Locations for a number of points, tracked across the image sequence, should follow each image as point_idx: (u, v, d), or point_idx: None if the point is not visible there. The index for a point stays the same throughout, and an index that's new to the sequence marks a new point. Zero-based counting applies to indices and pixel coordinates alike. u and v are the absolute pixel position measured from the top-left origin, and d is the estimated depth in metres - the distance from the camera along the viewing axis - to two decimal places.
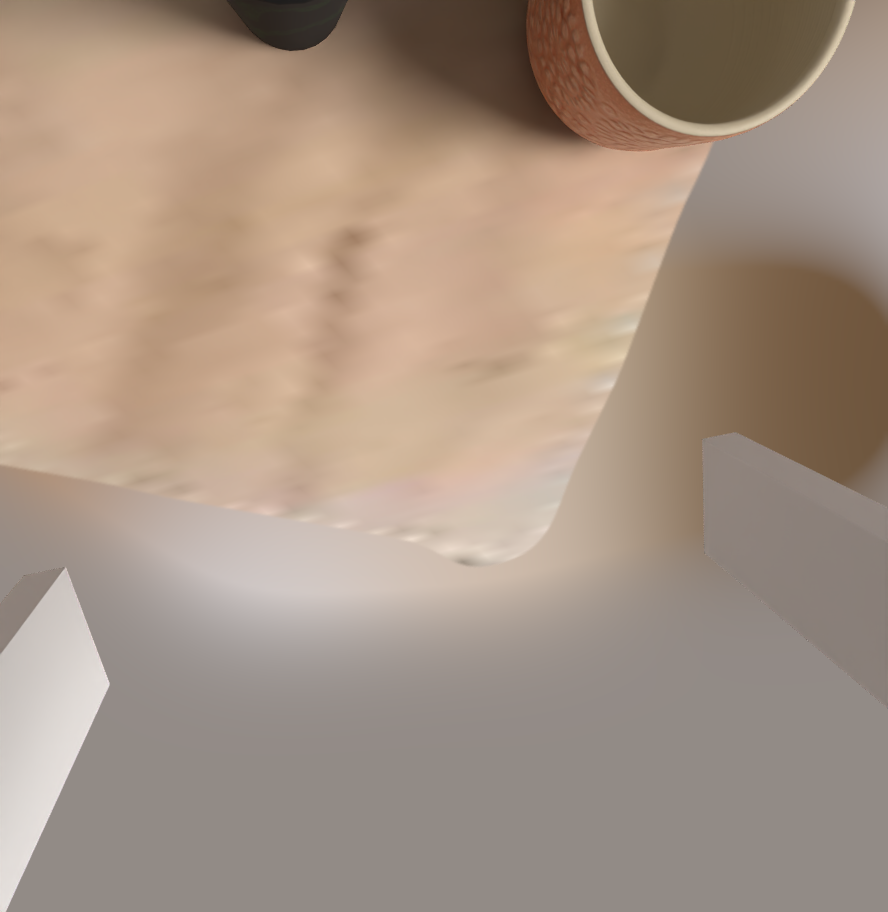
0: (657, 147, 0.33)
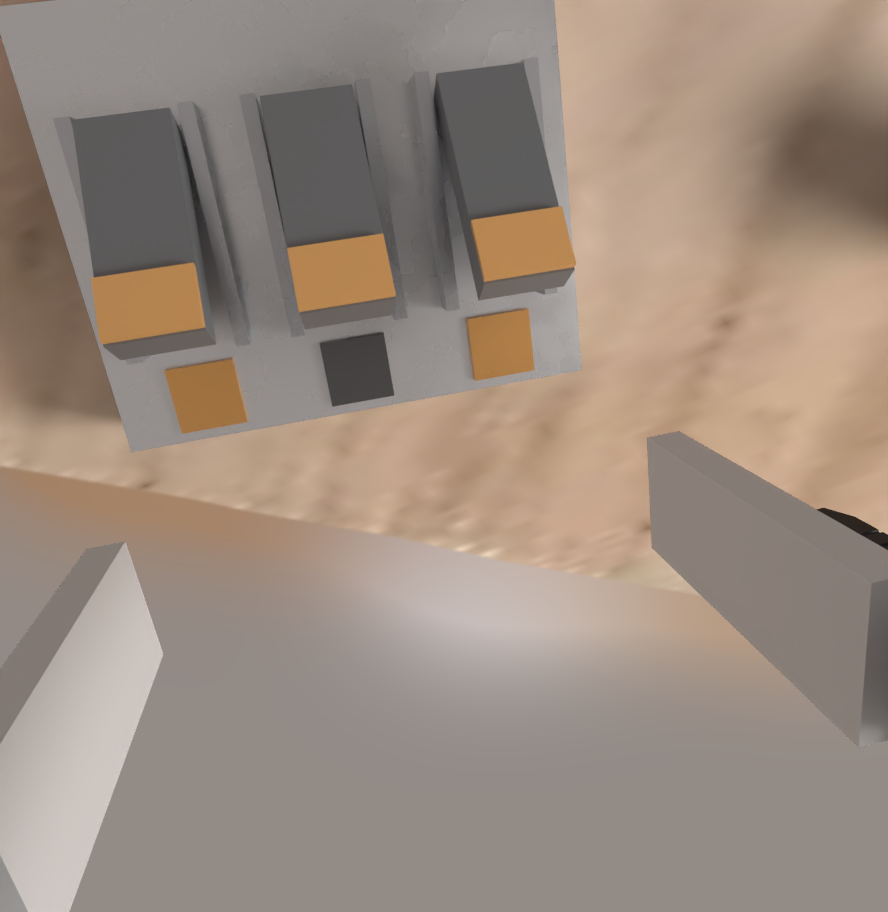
0: None
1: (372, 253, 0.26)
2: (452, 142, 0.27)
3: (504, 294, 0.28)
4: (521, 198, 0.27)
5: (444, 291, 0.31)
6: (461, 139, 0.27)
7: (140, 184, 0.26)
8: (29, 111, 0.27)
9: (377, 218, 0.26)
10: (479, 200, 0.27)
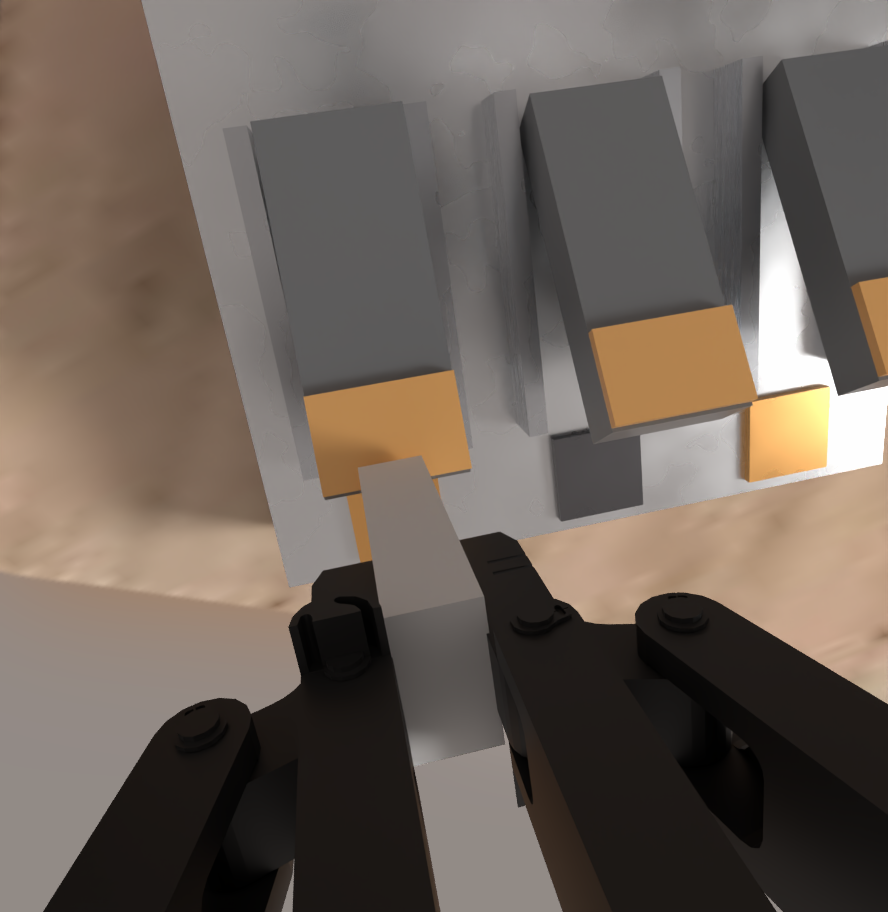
0: None
1: (719, 336, 0.17)
2: (813, 162, 0.18)
3: (877, 387, 0.19)
4: None
5: None
6: (826, 158, 0.18)
7: (364, 235, 0.16)
8: (178, 117, 0.18)
9: (716, 280, 0.17)
10: (860, 250, 0.18)
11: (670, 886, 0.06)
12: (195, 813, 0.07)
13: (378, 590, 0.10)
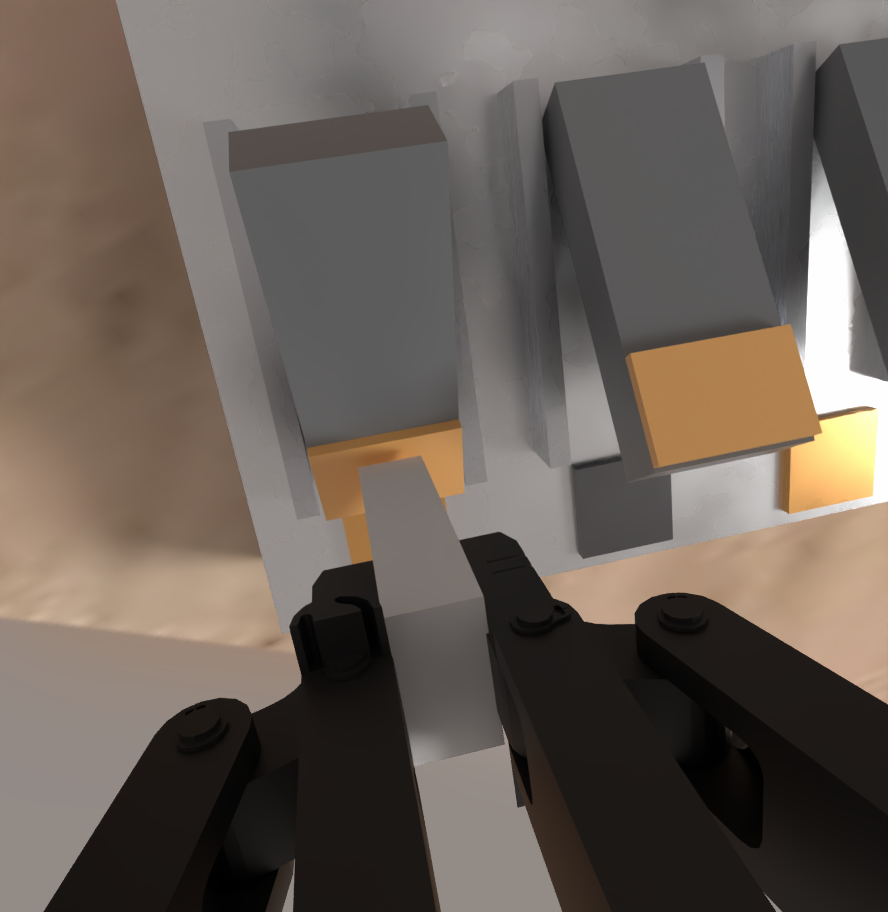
0: None
1: (776, 360, 0.14)
2: (877, 161, 0.16)
3: None
4: None
5: None
6: None
7: (379, 305, 0.13)
8: (152, 110, 0.16)
9: (770, 295, 0.15)
10: None
11: (669, 885, 0.06)
12: (196, 813, 0.07)
13: (378, 590, 0.10)
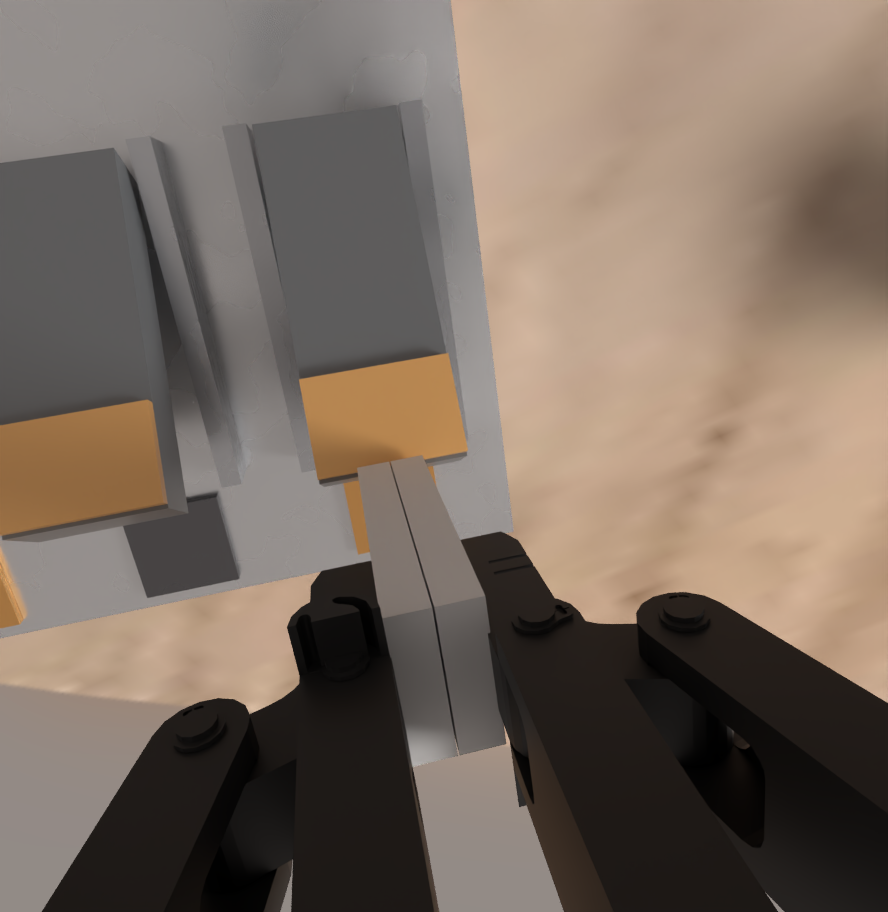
0: None
1: (127, 434, 0.15)
2: (275, 243, 0.17)
3: None
4: (385, 337, 0.17)
5: (296, 445, 0.21)
6: (290, 237, 0.17)
7: None
8: None
9: (143, 371, 0.16)
10: (316, 341, 0.17)
11: (672, 884, 0.06)
12: (193, 813, 0.07)
13: (377, 590, 0.10)
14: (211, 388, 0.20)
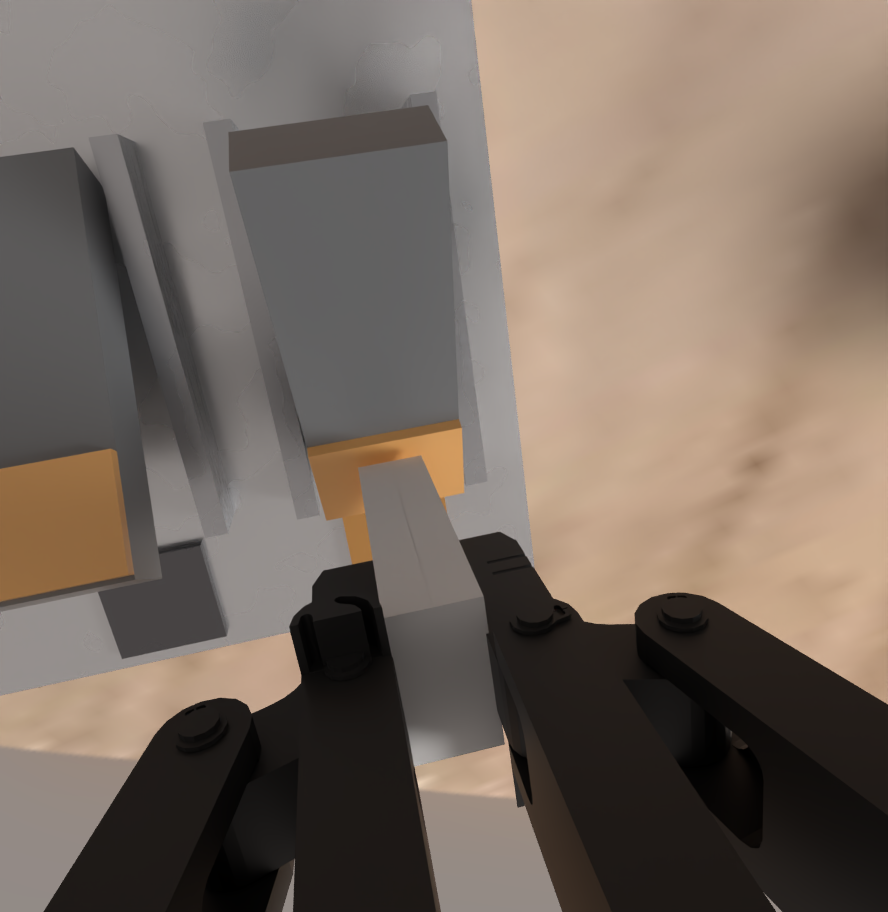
0: None
1: (85, 491, 0.13)
2: (273, 324, 0.13)
3: None
4: (398, 408, 0.16)
5: (290, 488, 0.18)
6: (292, 318, 0.13)
7: None
8: None
9: (106, 413, 0.13)
10: (324, 416, 0.15)
11: (671, 886, 0.06)
12: (196, 813, 0.07)
13: (379, 590, 0.10)
14: (192, 425, 0.17)
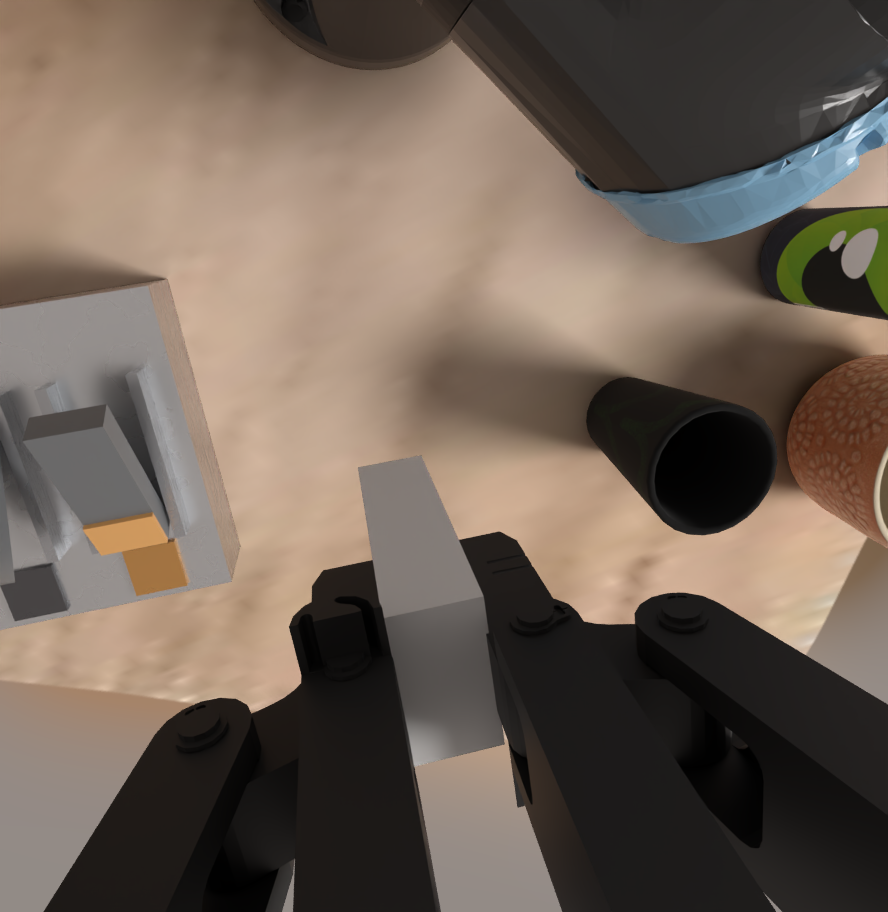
0: None
1: None
2: (53, 483, 0.34)
3: None
4: (120, 509, 0.36)
5: (87, 540, 0.39)
6: (60, 480, 0.34)
7: None
8: None
9: None
10: (86, 513, 0.36)
11: (670, 886, 0.06)
12: (196, 813, 0.07)
13: (378, 590, 0.10)
14: (38, 513, 0.38)
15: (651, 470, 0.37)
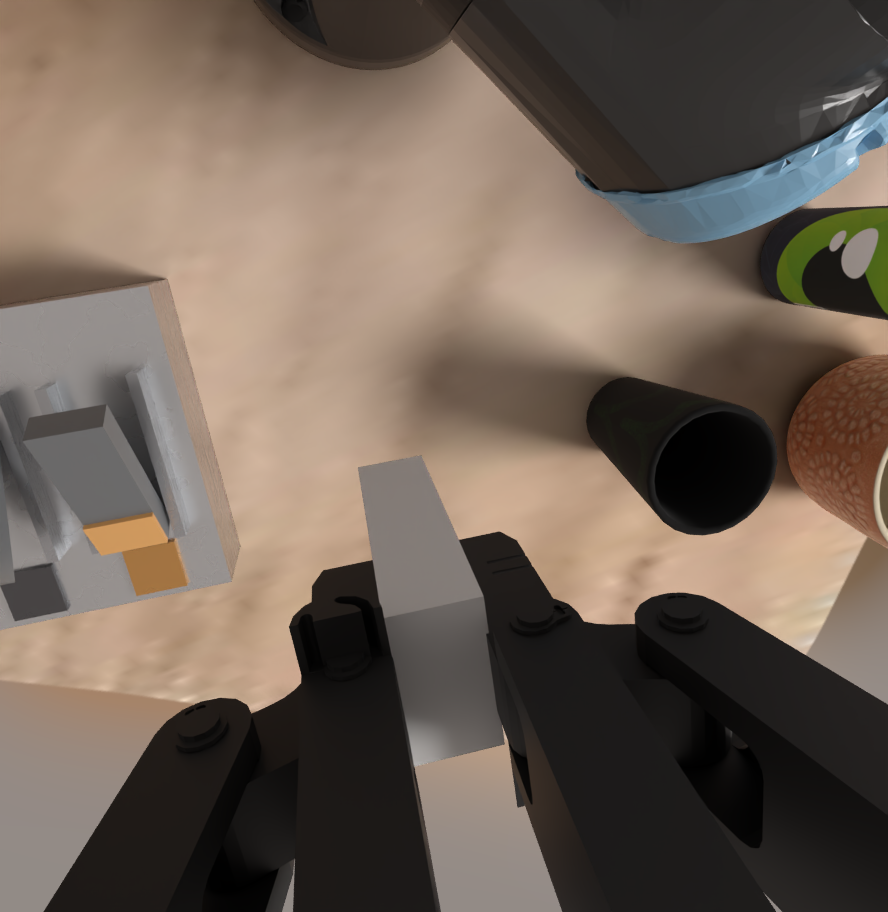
0: None
1: None
2: (53, 483, 0.34)
3: None
4: (120, 509, 0.36)
5: (87, 540, 0.39)
6: (60, 480, 0.34)
7: None
8: None
9: None
10: (86, 513, 0.36)
11: (670, 886, 0.06)
12: (196, 813, 0.07)
13: (378, 590, 0.10)
14: (38, 513, 0.38)
15: (651, 470, 0.37)
